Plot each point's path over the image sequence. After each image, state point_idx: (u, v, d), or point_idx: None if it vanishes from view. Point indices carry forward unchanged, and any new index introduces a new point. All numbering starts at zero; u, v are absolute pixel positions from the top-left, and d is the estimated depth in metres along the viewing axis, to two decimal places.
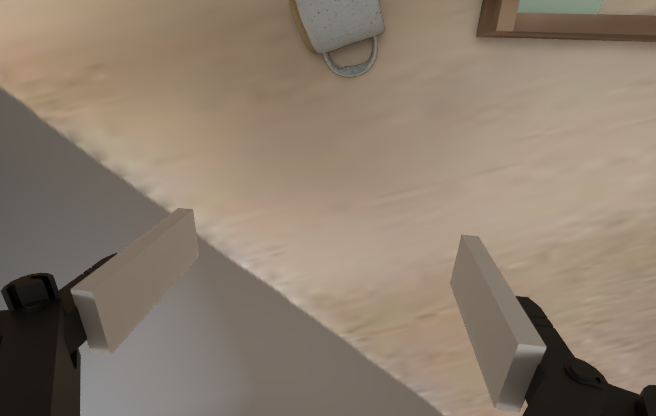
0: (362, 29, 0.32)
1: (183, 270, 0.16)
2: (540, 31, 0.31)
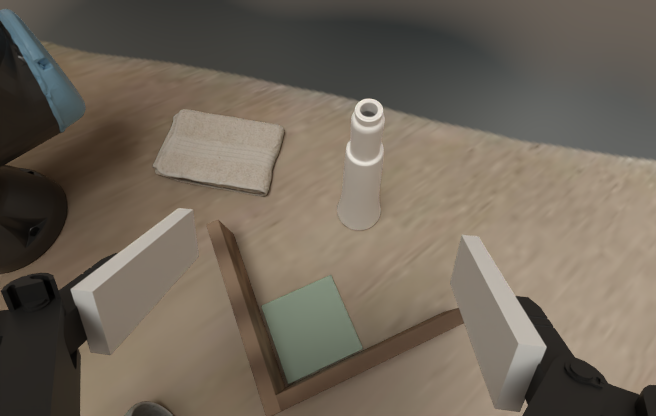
0: None
1: (183, 270, 0.16)
2: (303, 399, 0.33)
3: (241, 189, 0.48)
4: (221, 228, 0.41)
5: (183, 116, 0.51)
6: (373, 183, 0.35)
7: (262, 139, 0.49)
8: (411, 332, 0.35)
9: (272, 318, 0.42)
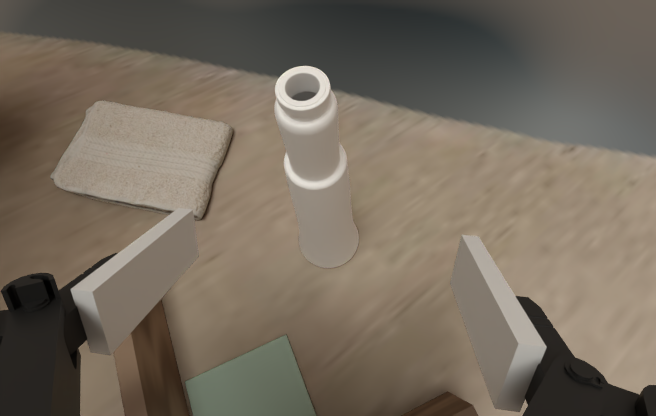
0: None
1: (183, 270, 0.16)
2: None
3: (167, 209, 0.35)
4: None
5: (98, 110, 0.38)
6: (335, 212, 0.22)
7: (200, 142, 0.36)
8: None
9: (199, 401, 0.29)
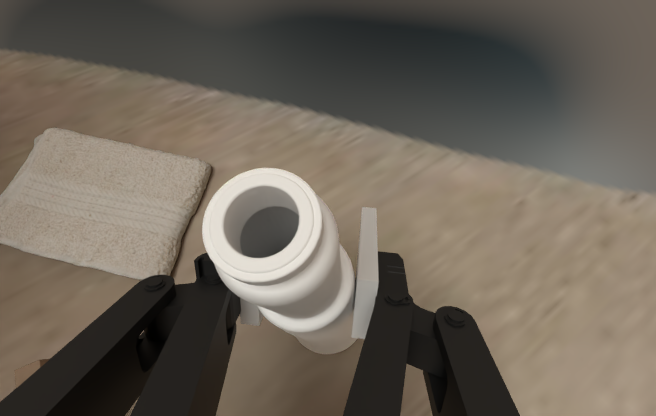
0: None
1: None
2: None
3: None
4: None
5: (48, 140, 0.31)
6: (335, 332, 0.15)
7: (168, 186, 0.29)
8: None
9: None
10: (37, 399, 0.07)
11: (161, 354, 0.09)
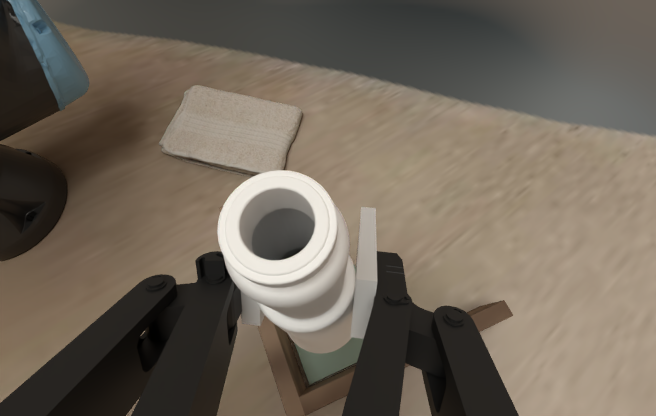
0: None
1: None
2: (330, 402, 0.29)
3: (252, 173, 0.44)
4: None
5: (195, 92, 0.48)
6: (334, 332, 0.15)
7: (278, 121, 0.45)
8: None
9: None
10: (38, 398, 0.07)
11: (162, 354, 0.09)
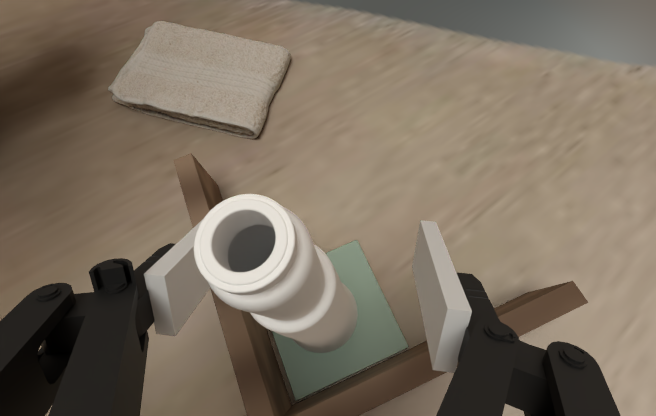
0: None
1: None
2: None
3: (223, 126, 0.35)
4: (196, 166, 0.27)
5: (158, 29, 0.38)
6: (323, 332, 0.16)
7: (259, 63, 0.36)
8: None
9: None
10: None
11: (66, 372, 0.08)
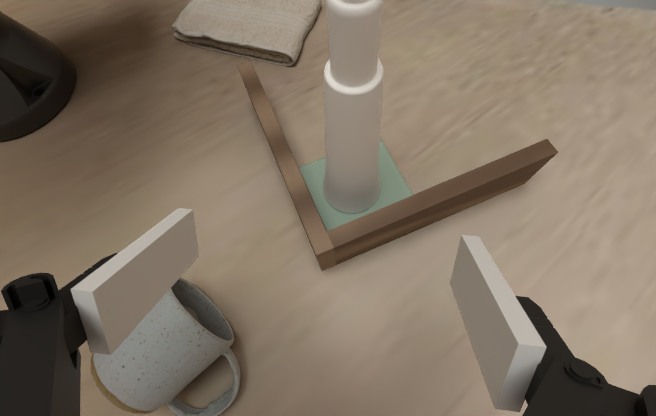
0: (192, 357, 0.24)
1: (183, 270, 0.16)
2: (361, 235, 0.27)
3: (266, 55, 0.42)
4: (254, 70, 0.35)
5: None
6: (368, 132, 0.23)
7: (296, 6, 0.43)
8: (490, 164, 0.29)
9: (311, 180, 0.35)
10: None
11: None
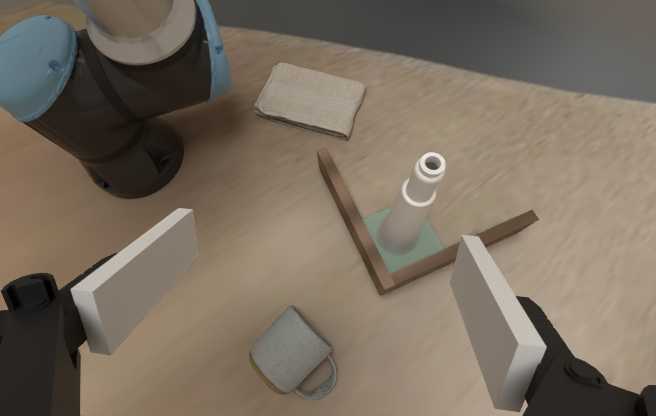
0: (315, 359, 0.39)
1: (183, 270, 0.16)
2: (412, 276, 0.42)
3: (326, 131, 0.57)
4: (329, 154, 0.49)
5: (281, 68, 0.61)
6: (422, 218, 0.38)
7: (348, 93, 0.58)
8: (494, 227, 0.44)
9: (368, 230, 0.50)
10: None
11: None
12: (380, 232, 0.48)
